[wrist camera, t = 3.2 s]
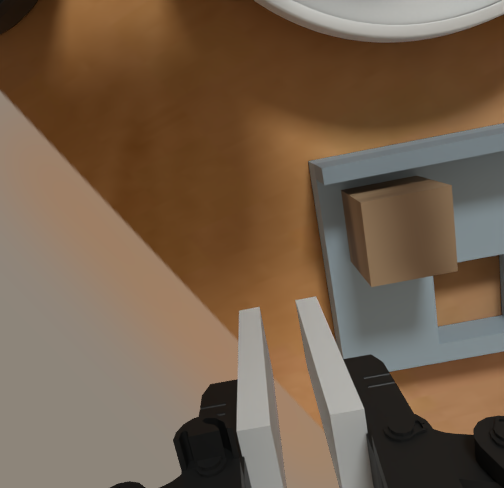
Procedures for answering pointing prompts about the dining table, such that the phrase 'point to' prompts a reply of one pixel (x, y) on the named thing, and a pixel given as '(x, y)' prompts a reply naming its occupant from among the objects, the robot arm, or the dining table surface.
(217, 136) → the dining table surface
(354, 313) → the box
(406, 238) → the block
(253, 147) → the dining table surface
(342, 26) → the bowl
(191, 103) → the dining table surface
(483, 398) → the dining table surface
